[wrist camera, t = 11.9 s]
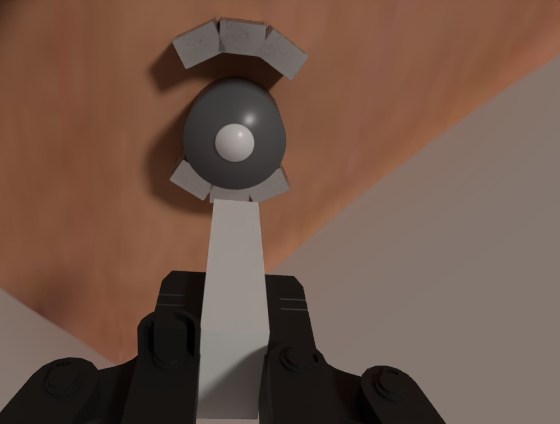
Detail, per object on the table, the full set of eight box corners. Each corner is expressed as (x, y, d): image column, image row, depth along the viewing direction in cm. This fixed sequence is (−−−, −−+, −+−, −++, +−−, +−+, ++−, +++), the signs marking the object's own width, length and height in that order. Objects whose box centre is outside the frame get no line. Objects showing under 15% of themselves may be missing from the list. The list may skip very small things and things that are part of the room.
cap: (193, 70, 32) (184, 84, 27) (285, 82, 32) (293, 97, 28) (188, 159, 34) (179, 186, 30) (273, 168, 35) (278, 195, 30)
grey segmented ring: (178, 11, 30) (172, 14, 27) (305, 27, 31) (312, 31, 28) (174, 183, 35) (168, 199, 32) (283, 191, 36) (287, 208, 33)
